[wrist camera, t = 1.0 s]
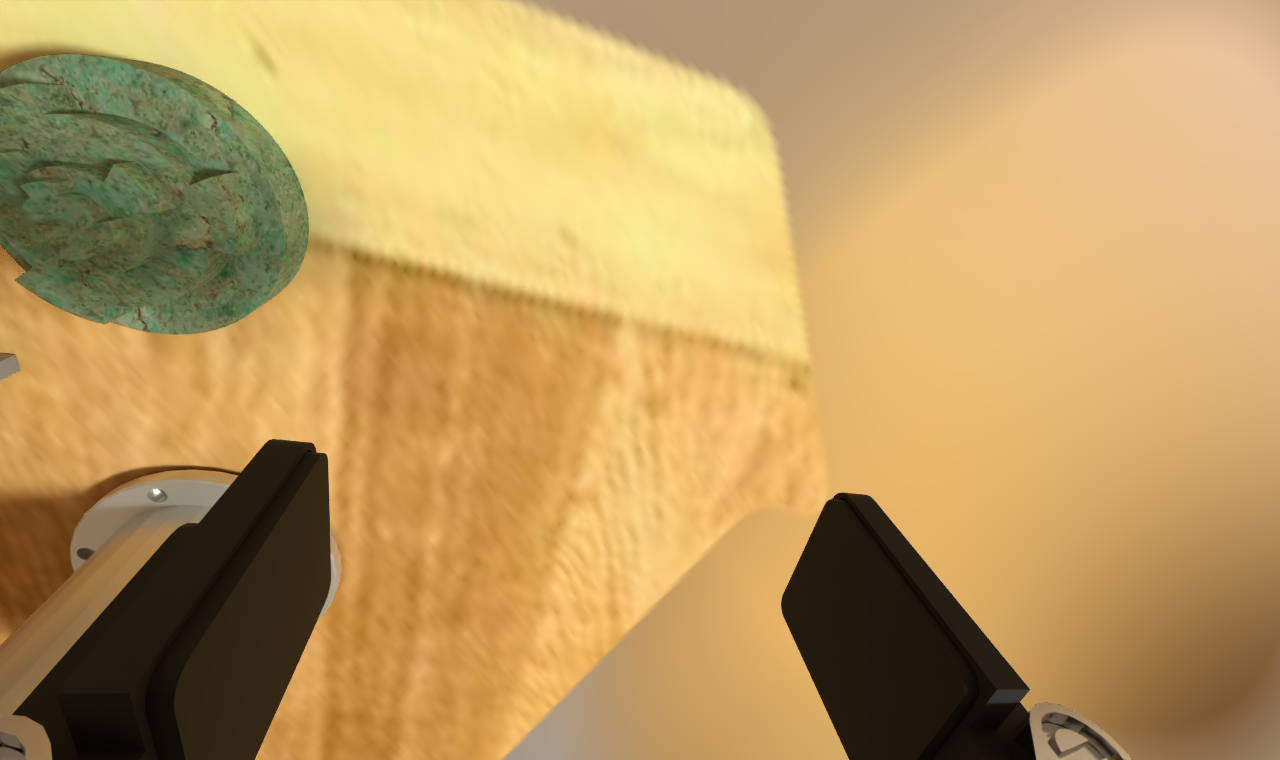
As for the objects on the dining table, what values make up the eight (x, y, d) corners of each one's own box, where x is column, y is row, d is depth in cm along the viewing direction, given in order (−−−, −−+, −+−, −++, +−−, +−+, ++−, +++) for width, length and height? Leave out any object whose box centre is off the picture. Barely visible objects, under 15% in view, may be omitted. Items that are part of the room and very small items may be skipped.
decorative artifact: (-17, 208, 21) (239, 354, 25) (-247, 249, 15) (140, 433, 19) (93, -8, 19) (356, 191, 23) (-126, -64, 13) (286, 222, 17)
